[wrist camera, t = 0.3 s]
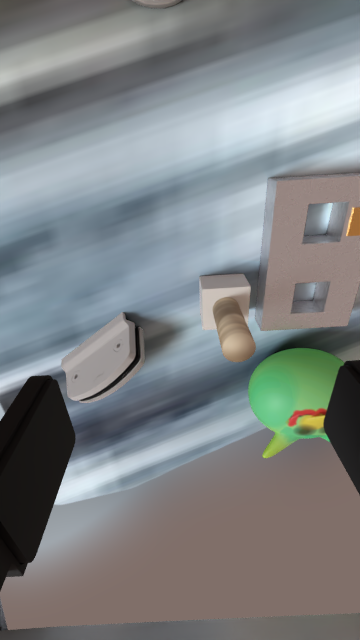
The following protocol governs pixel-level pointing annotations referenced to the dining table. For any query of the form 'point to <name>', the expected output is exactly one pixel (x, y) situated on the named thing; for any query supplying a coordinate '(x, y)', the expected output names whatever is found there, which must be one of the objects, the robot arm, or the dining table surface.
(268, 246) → the plate
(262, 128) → the dining table surface
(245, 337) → the peg
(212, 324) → the beige square block
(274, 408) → the toy bird
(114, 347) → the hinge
